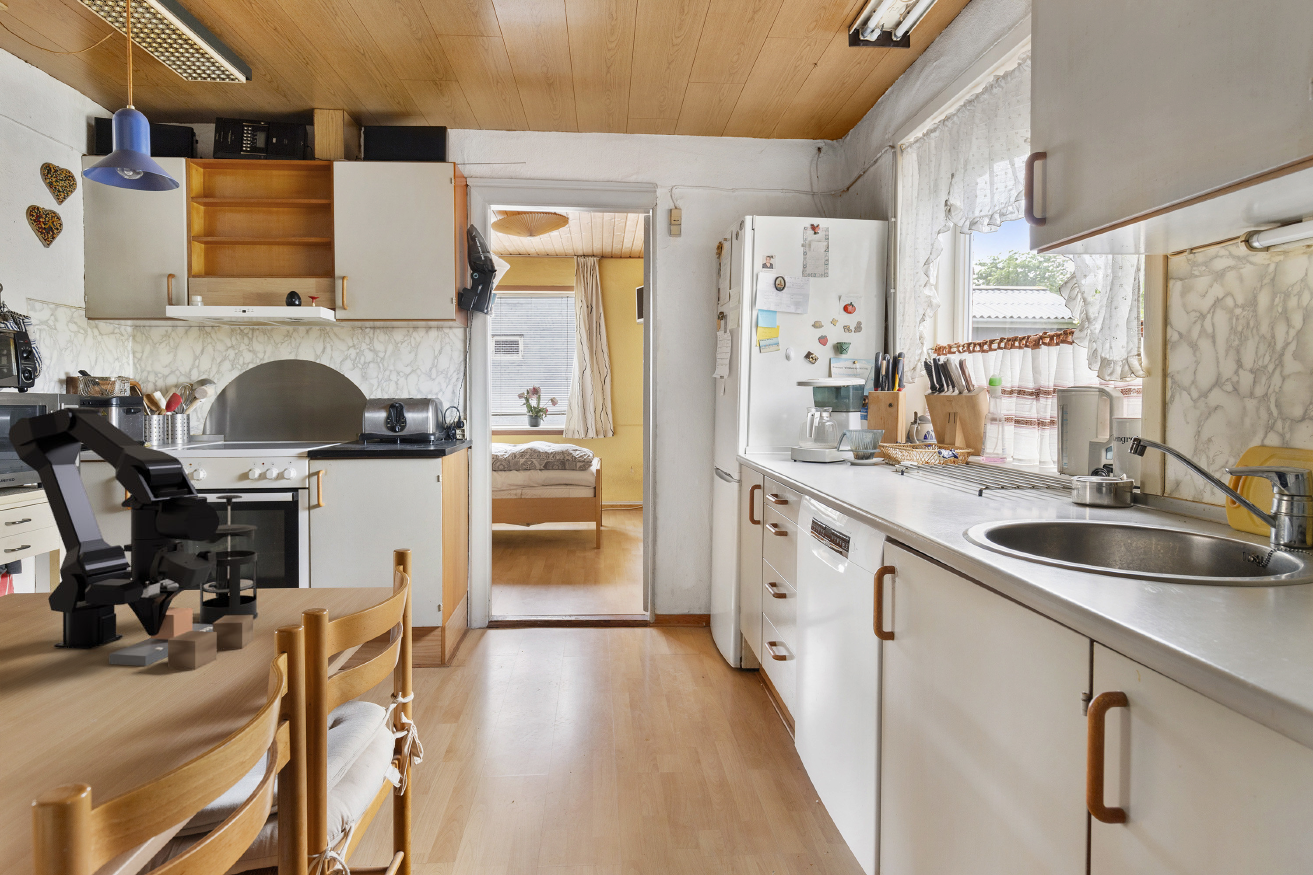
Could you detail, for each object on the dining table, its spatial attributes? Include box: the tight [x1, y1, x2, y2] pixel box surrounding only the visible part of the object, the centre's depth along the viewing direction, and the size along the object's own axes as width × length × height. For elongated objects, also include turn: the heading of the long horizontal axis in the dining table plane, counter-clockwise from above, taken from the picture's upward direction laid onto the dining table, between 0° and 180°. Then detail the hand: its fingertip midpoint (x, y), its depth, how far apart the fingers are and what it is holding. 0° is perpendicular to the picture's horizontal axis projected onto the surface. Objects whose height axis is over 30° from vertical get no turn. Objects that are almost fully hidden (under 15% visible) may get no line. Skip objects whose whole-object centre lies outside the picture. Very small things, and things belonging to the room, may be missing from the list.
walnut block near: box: [167, 631, 218, 671], centre depth 108 cm, size 4×4×4 cm
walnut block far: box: [213, 615, 254, 651], centre depth 117 cm, size 4×4×4 cm
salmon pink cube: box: [150, 606, 194, 639], centre depth 115 cm, size 4×4×4 cm
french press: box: [198, 494, 259, 625], centre depth 131 cm, size 12×9×23 cm
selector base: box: [108, 622, 213, 667], centre depth 115 cm, size 6×16×2 cm, turn 175°
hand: (153, 635), depth 112 cm, fingers closed
